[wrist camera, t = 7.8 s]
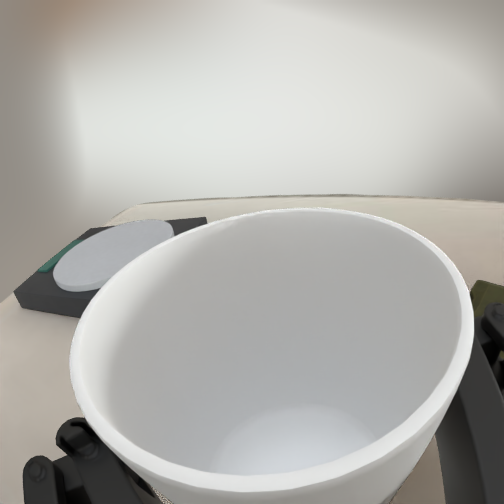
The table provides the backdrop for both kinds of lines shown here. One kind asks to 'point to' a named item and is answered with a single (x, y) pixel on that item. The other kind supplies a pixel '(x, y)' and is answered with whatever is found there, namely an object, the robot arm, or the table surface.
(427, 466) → the table surface
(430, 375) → the mug
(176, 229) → the scale
